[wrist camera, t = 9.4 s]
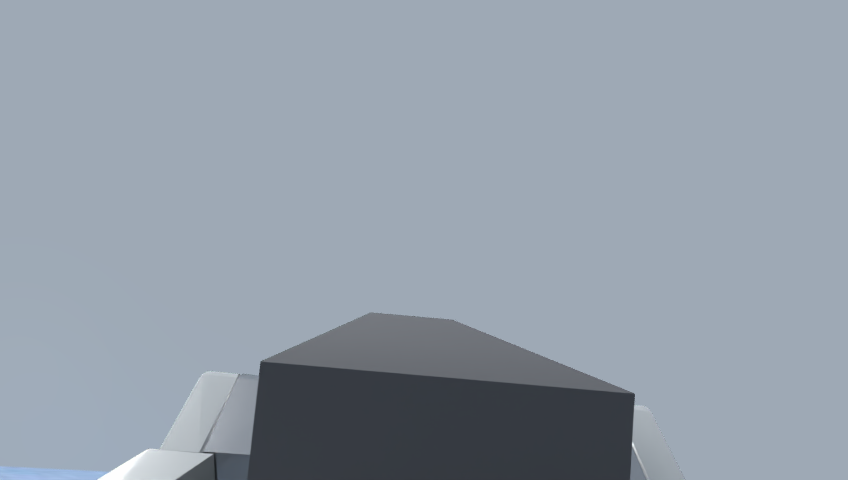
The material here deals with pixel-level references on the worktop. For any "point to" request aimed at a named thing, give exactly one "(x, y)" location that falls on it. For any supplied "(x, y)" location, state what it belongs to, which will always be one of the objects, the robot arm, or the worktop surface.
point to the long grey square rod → (433, 409)
